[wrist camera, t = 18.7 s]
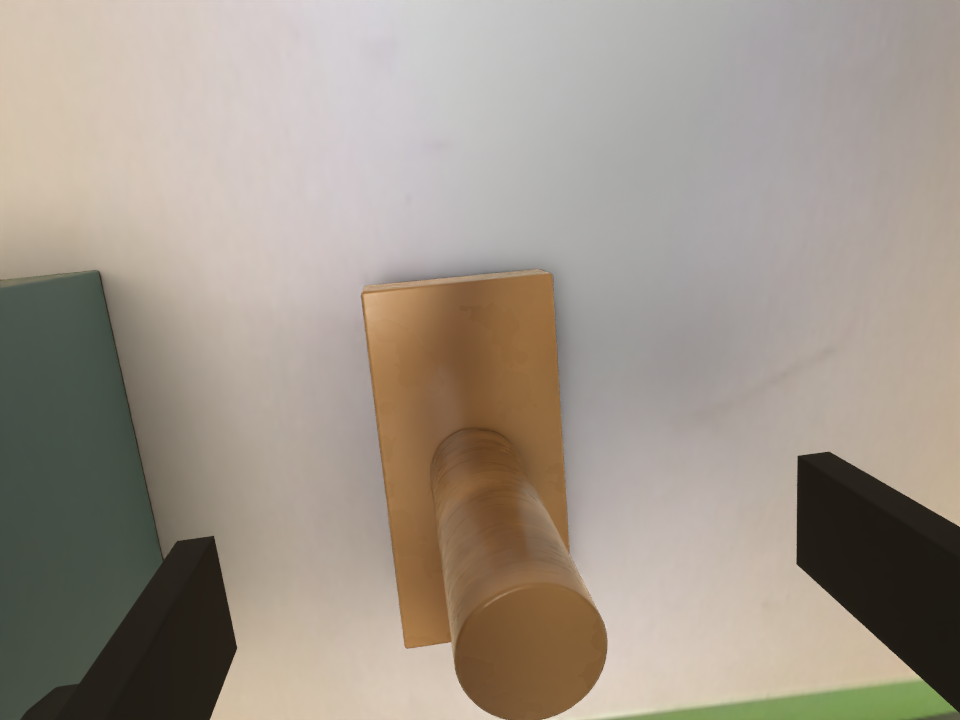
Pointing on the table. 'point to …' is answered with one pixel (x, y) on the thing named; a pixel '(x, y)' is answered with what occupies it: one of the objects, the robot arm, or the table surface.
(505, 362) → the stamp
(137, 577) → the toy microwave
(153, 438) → the table surface
